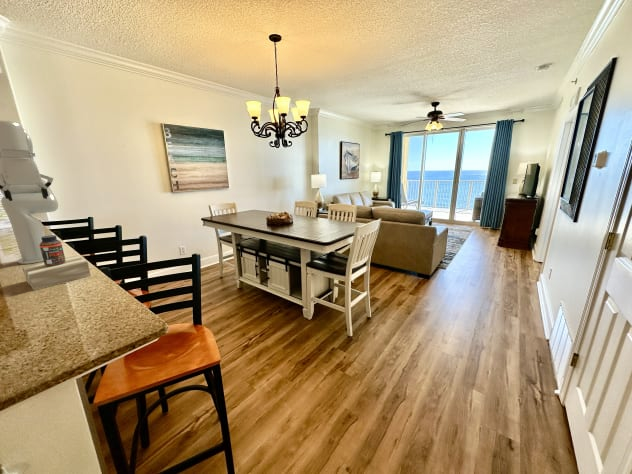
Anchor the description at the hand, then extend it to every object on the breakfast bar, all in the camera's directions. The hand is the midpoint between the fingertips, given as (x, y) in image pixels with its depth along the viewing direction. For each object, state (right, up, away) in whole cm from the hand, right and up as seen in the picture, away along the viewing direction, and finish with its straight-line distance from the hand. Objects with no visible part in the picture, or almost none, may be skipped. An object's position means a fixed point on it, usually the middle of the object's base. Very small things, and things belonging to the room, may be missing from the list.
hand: (28, 199), depth 105 cm
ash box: (+15, -32, -2) cm, 35 cm away
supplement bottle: (+15, -26, -4) cm, 30 cm away
